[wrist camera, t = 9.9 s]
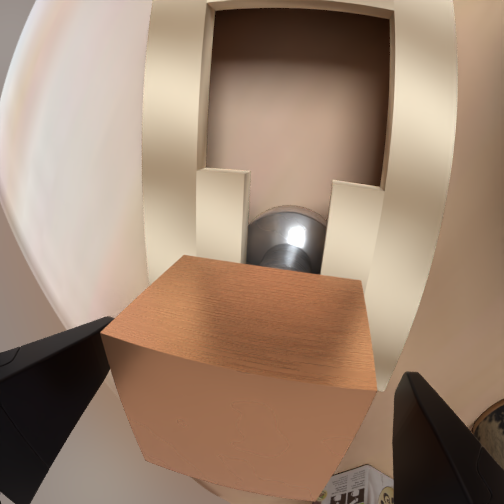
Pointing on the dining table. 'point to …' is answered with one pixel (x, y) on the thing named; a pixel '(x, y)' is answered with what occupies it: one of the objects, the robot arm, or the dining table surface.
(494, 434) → the mug
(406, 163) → the keyhole box
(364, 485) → the coffee box
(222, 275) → the wooden block metal peg
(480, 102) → the dining table surface
